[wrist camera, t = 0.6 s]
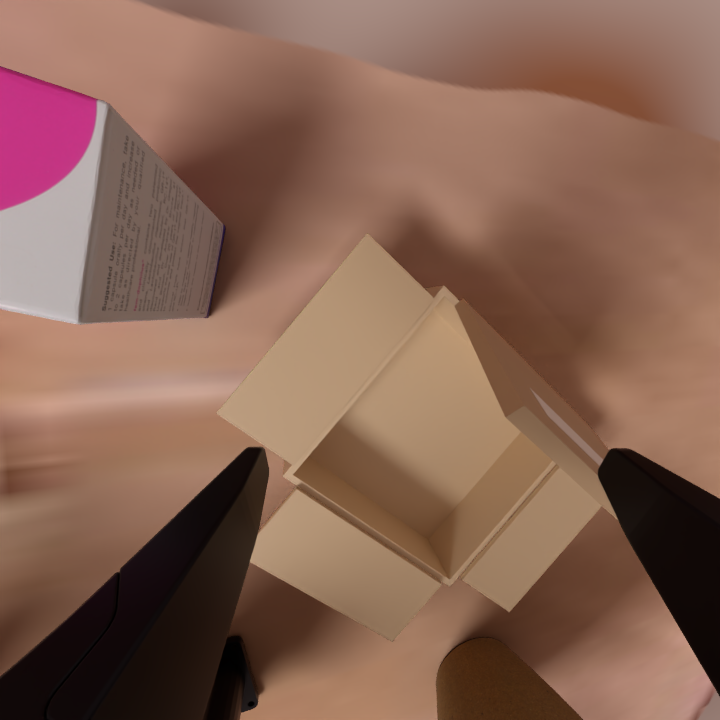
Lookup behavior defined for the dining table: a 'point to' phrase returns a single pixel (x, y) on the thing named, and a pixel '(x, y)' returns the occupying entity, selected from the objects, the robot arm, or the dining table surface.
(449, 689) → the plant pot
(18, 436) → the dining table surface
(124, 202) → the supplement box
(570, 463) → the flap
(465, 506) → the carton
